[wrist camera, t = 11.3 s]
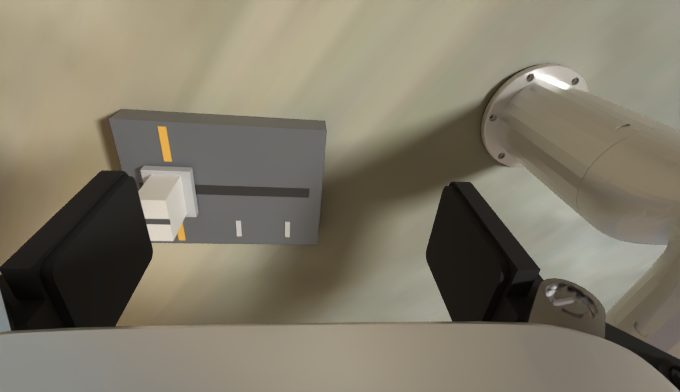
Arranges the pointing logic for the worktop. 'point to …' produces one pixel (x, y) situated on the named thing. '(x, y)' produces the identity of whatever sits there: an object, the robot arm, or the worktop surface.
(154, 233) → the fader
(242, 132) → the console
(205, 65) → the worktop surface
